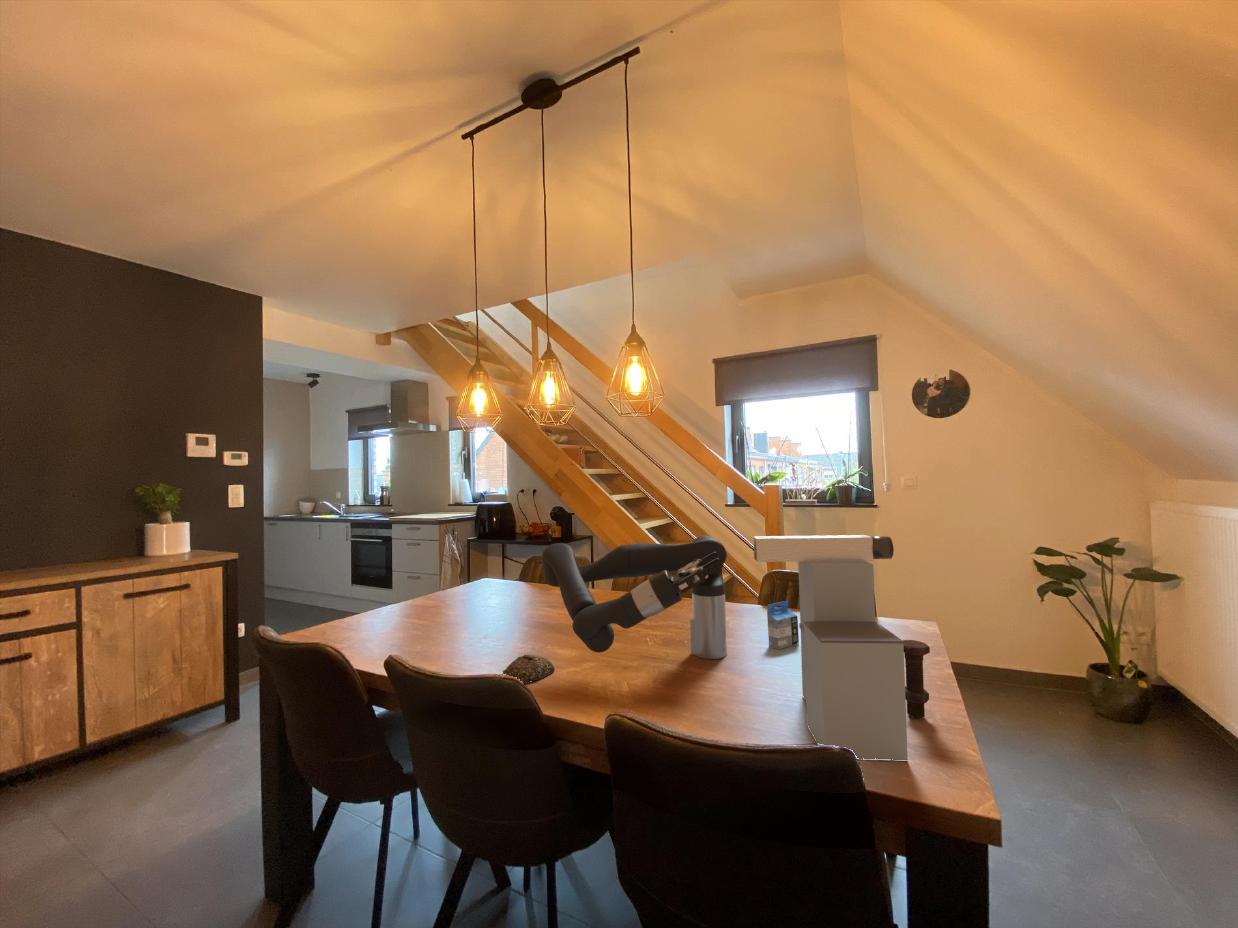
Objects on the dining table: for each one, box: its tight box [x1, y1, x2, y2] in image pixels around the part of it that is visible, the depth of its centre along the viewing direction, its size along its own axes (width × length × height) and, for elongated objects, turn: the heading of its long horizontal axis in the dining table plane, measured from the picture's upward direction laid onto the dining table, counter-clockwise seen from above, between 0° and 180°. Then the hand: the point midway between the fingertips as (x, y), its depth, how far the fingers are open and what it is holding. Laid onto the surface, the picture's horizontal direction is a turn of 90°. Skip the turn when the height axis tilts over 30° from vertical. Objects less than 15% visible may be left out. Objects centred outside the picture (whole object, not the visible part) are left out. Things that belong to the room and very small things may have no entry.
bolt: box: [901, 639, 931, 720], centre depth 106 cm, size 6×5×15 cm
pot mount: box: [797, 561, 908, 761], centre depth 104 cm, size 15×26×32 cm, turn 174°
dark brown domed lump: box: [502, 654, 555, 684], centre depth 134 cm, size 13×12×5 cm
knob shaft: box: [753, 534, 895, 563], centre depth 111 cm, size 28×5×5 cm, turn 84°
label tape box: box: [766, 600, 800, 650], centre depth 151 cm, size 9×4×12 cm, turn 120°
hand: (719, 558), depth 113 cm, fingers open, 8 cm apart
